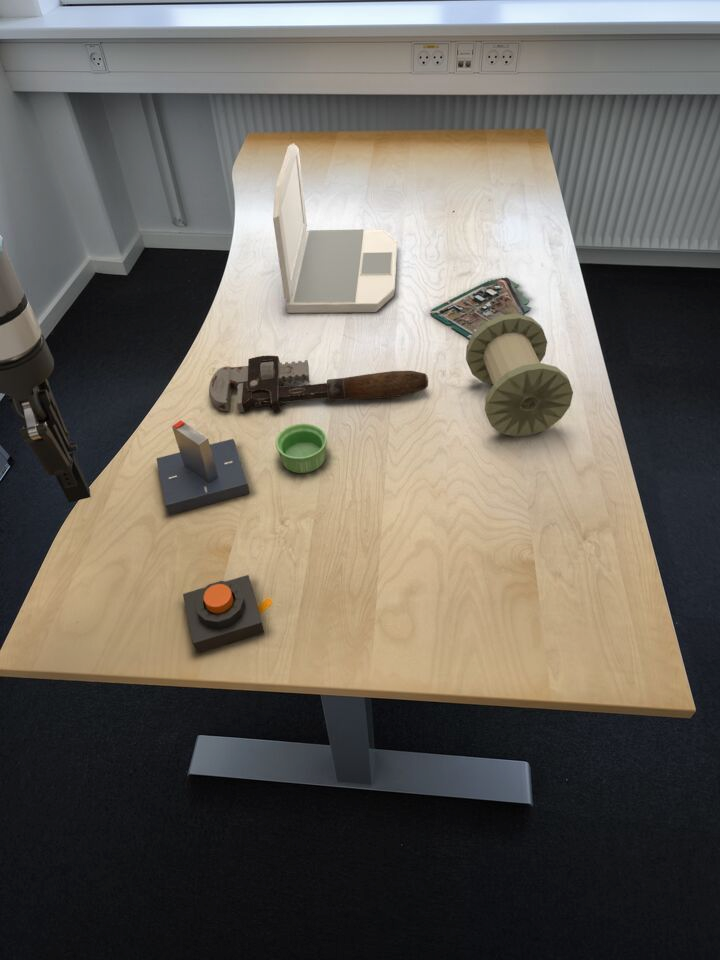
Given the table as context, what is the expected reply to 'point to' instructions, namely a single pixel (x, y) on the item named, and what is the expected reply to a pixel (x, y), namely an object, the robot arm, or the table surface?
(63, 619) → the table surface
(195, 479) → the dark grey dial base
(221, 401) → the pipe wrench
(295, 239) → the laptop
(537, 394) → the spool
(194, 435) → the grey upright slab
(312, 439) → the ramekin
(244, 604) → the orange push button box
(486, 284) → the circuit board
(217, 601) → the release button
